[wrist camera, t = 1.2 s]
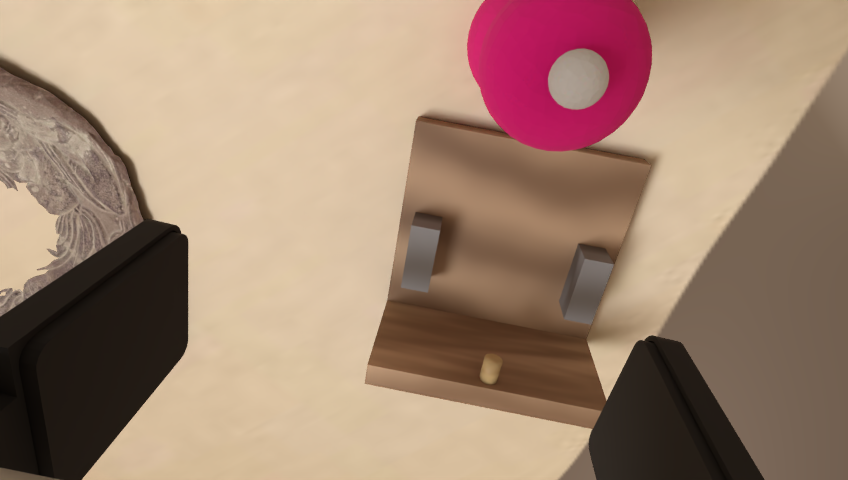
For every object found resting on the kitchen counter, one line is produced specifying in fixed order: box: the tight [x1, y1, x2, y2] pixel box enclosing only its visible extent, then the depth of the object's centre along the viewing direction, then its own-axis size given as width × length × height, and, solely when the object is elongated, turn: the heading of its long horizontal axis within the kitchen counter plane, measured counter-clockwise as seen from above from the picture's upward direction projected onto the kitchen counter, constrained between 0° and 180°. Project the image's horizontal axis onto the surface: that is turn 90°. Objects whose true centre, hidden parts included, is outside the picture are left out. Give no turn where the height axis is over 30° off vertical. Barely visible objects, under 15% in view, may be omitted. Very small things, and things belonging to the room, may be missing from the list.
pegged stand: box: [365, 117, 651, 429], centre depth 34 cm, size 16×16×10 cm
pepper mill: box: [467, 0, 652, 152], centre depth 24 cm, size 7×7×20 cm
